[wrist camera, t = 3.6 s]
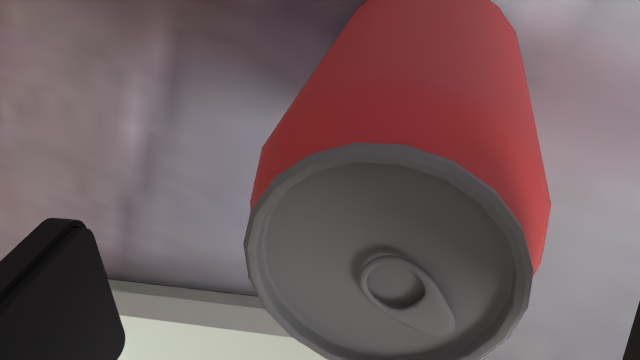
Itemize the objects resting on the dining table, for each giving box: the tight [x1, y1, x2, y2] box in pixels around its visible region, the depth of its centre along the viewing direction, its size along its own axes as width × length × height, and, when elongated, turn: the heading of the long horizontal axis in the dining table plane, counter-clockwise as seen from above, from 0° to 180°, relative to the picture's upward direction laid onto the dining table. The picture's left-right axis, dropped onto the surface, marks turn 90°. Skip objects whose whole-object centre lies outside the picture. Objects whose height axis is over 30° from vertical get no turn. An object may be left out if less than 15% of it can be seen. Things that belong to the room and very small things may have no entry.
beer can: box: [244, 0, 551, 360], centre depth 16 cm, size 7×7×12 cm
